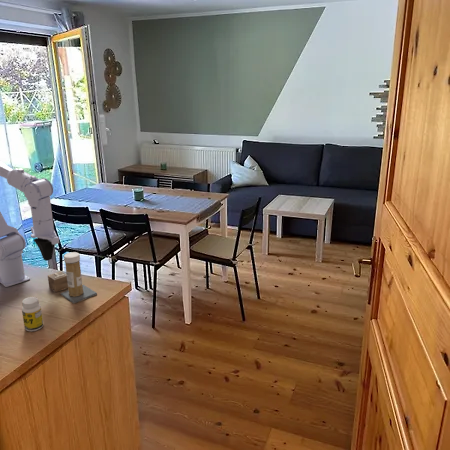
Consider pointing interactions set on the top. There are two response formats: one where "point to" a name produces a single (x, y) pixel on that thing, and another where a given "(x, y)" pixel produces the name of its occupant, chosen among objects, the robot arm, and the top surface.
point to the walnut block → (58, 281)
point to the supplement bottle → (32, 314)
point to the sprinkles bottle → (73, 273)
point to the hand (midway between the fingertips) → (47, 259)
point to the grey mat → (86, 294)
